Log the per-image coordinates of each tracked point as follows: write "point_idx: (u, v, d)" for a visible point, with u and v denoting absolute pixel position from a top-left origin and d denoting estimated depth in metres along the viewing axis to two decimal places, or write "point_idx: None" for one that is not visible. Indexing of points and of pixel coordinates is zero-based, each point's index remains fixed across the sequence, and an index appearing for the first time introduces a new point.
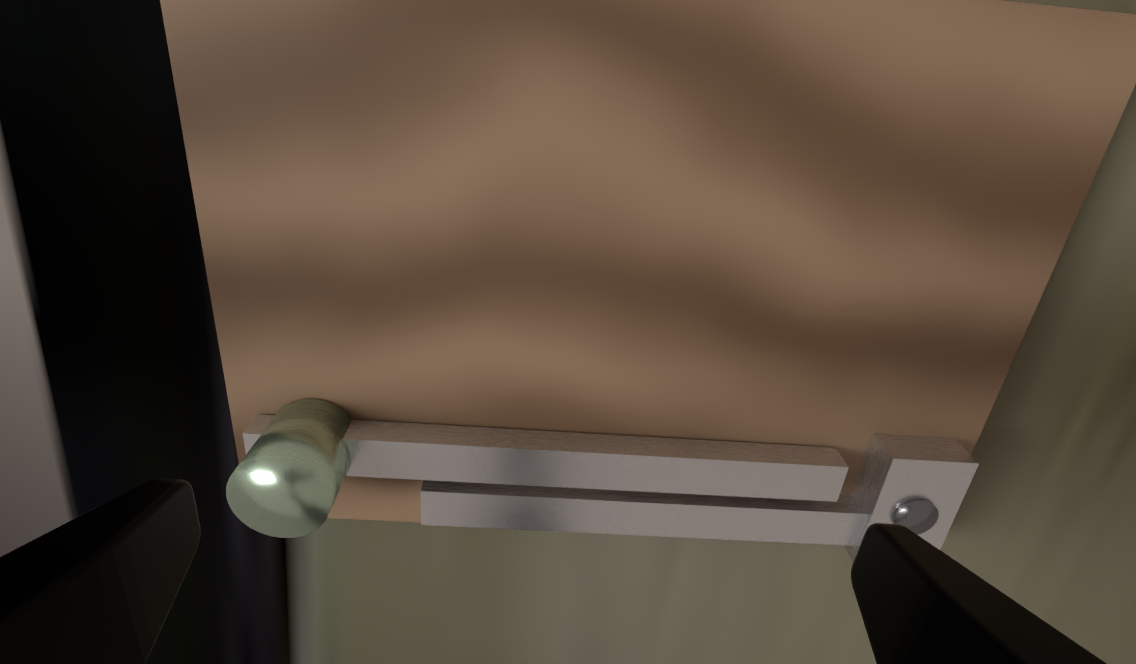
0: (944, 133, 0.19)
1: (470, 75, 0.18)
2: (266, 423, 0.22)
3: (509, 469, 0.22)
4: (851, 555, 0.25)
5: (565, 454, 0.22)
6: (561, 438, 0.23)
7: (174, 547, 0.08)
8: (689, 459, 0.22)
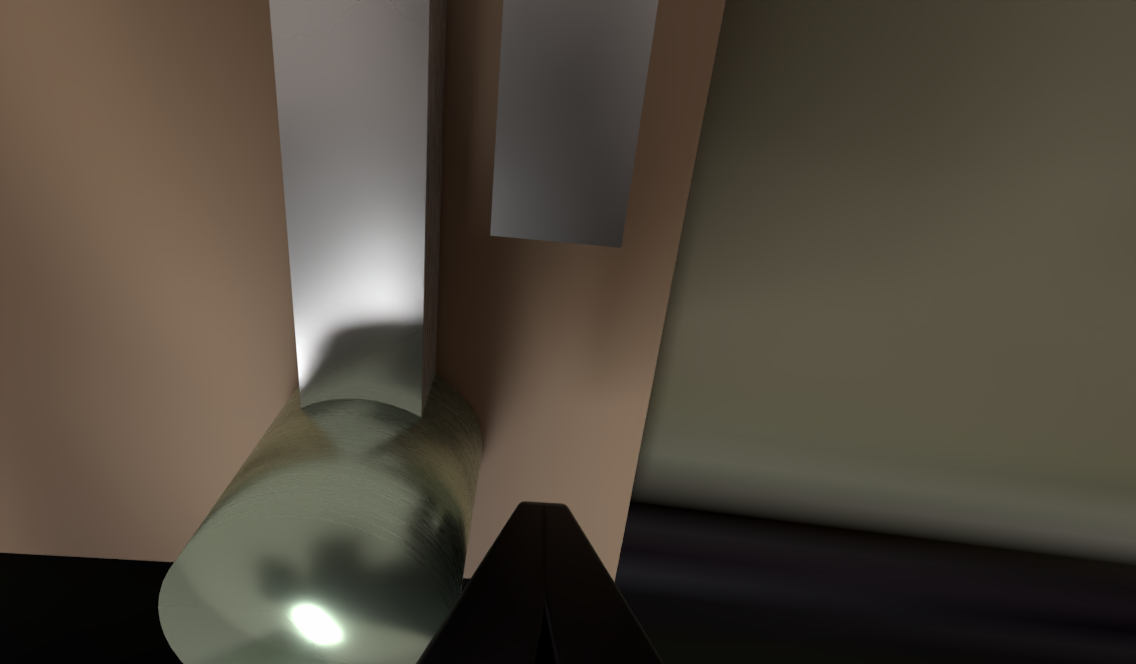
0: None
1: None
2: None
3: None
4: None
5: None
6: None
7: None
8: None
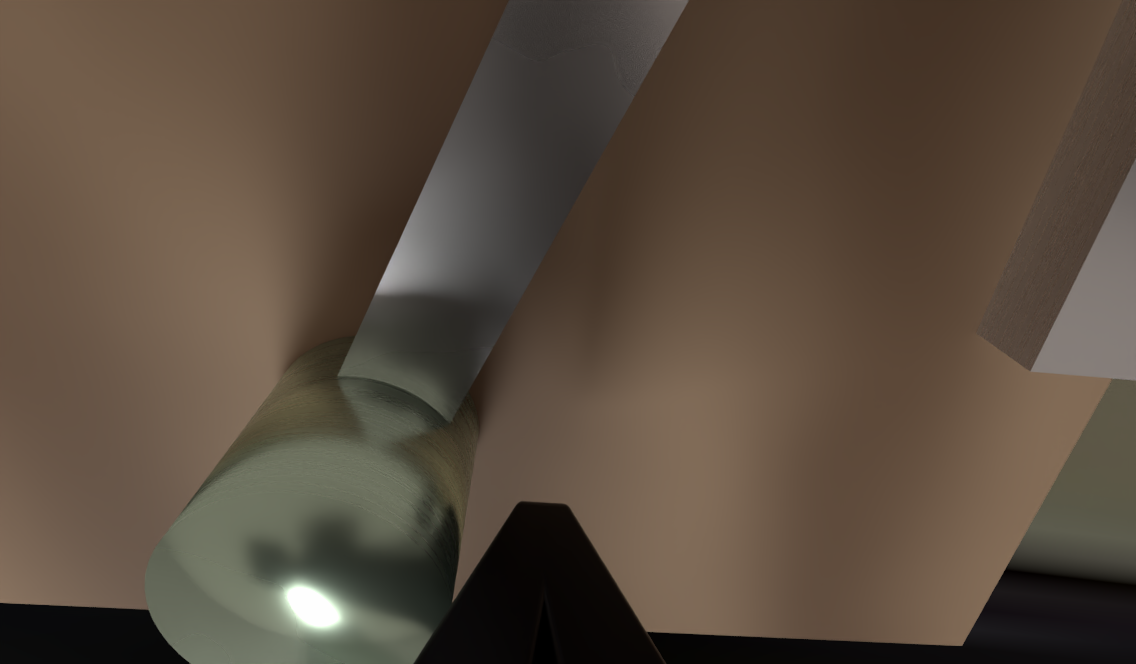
0: None
1: None
2: None
3: None
4: None
5: None
6: None
7: None
8: None
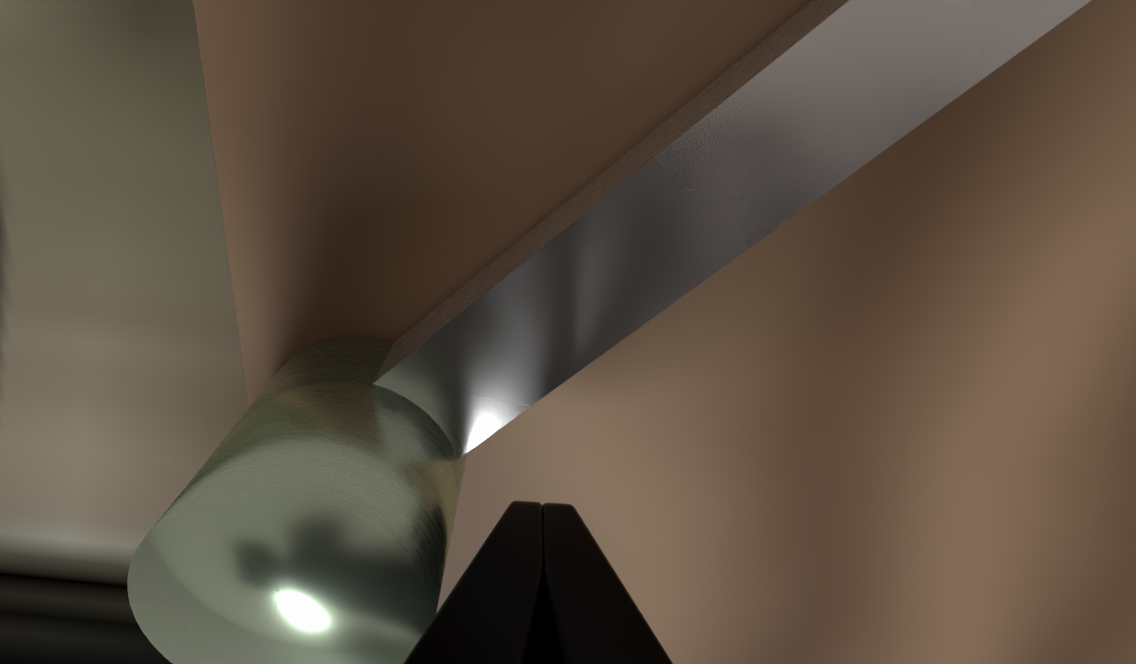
0: None
1: None
2: None
3: (791, 149, 0.07)
4: None
5: None
6: None
7: None
8: None
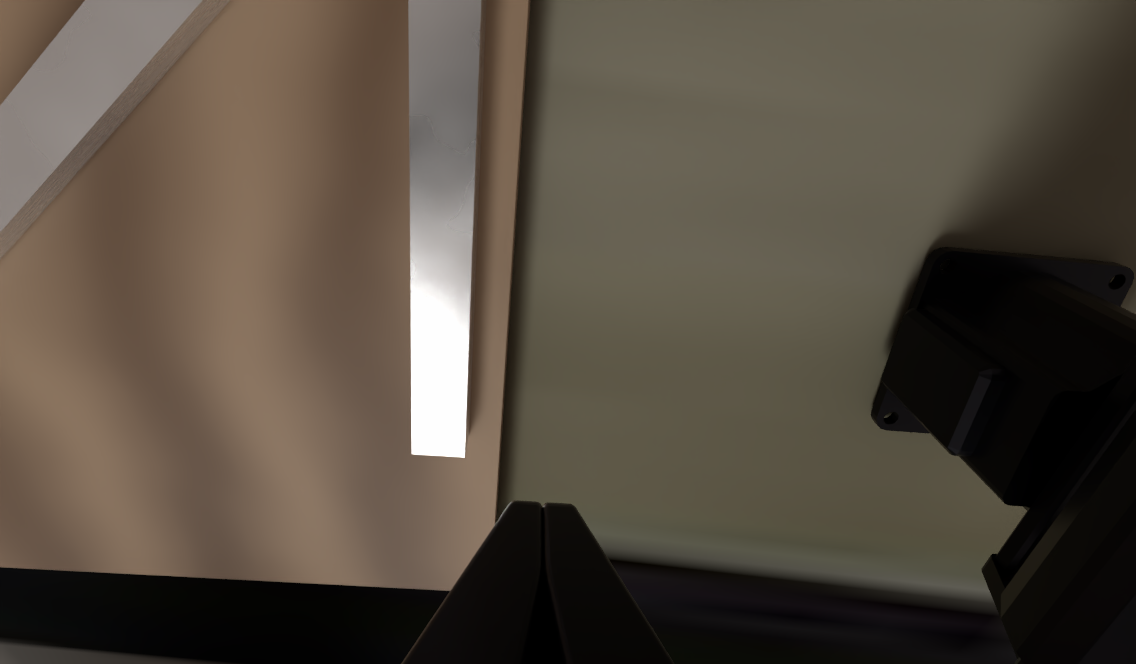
0: None
1: None
2: None
3: None
4: None
5: None
6: None
7: None
8: None
